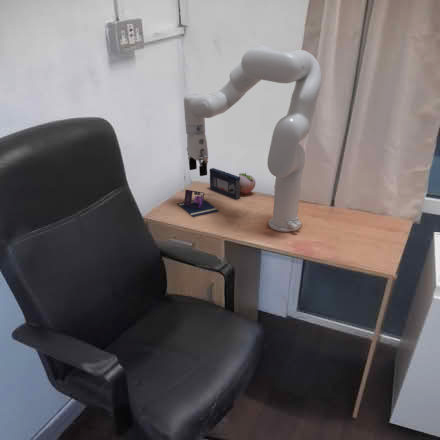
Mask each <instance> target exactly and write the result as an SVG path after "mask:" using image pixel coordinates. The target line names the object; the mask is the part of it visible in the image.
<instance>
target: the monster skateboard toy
mask: <svg viewBox="0 0 440 440" xmlns="http://www.w3.org/2000/svg"><path fill="white" fill-rule="evenodd" d="M184 192H185V193H184V201H183V202H184V205H185V206H190V207H196V206H191V202H192V200H193V201H194V203H196V204H199V203H200V204H199V207H196V208H201V209H202V208H203V201H204V200H205V192H202V191H197V190H190V189H185V191H184ZM193 194H194V195H195V196H194V199H193ZM202 199H203V200H202ZM201 204H202V207H200V206H201Z"/></svg>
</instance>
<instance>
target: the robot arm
mask: <svg viewBox="0 0 440 440" xmlns="http://www.w3.org/2000/svg"><path fill="white" fill-rule="evenodd" d="M261 81H267V82H272V83H277V84H291V83H294V82H295V85H294V89H293V91H292V94H291V97H290V103H289V106H288V111H287V113H286V115H284V116H283V117H281V118H280V119H279V120H278V121H277V122H276V124H275V126H274V129H273V131H272V135H271V141H270V145H269V151H268V155H267V169H268V171H269V172H270V174H271V175H272V176H274V177H275V179H274V180H275V182H274V194H273V195H274V197H273V211H272V218H270V219H269V220H268V227H269V228H270V229H272V230H274V231H278V232H281V233H287V232H288V233H290V232H295V231H298V230H299V229H300V228H301V227H302V225H303V224H302V223H301V221H300V217H299V205H300V198H301V197H300V196H301V188H302V187H301V185H302V178H303V173H304V167H305V162H306V152H305V149H304V147H303V146H302V145H301V144H300V142H301V141H303V140H304V139H306V138H307V136H308V135H309V134H310V132H311V131H310V130H311V127H312V122H313V118H314V114H315V111H316V107H317V103H318V99H319V94H320V90H321V85H322V69H321V66H320V64H319V61H318V59H316V57H315V56H314V55H313V54H312V53H310V52H309V51H307V50H304V49H296V50H292V51H288V52H284V51H276V50H274V48H272V47H271V46H270V45H265V44H262V45H257V46H252V47H250V48H248V49H247V50H246V51H245V52H244V53H243V55H242V57H241V62H240V63H239V64H238V65H237V66H235V67H234V68H233V69H232V70H231V71H230V73H229V80H228V82H227V83H226V84H225V85H224V86H222V87H221V88H220V89H219V90H218V91H216V92H213V93H210V94H208V95H202V94H201V93H188V94H186V95H185V96H184V97H183V107H184V108H183V110H184V122H185V134H186V145H187V147H186V151H187V156H188V158H187V160H188V167H189V171H194V170H198V169H199V171H198V172H199V176H200V177H204V176H208V162H209V151H208V141H207V136H206V120H205V119H211V118H213V117H216V116H218V115H221V114H224V113H226V112H227V111H228V110H229V109H231V108H232V107H233V106H234V105H235V104H237V103H238V102H239V101H241V99H242V98H243V97H244V96H245V95H246V94H247V93H248V92H249V91H250V90H251V89H252V88H254V87H255V86H256V85H257V84H258V83H259V82H261ZM197 161H198V162H197ZM197 163H198V164H199V165H198V166H197Z"/></svg>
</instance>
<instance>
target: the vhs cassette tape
mask: <svg viewBox="0 0 440 440" xmlns="http://www.w3.org/2000/svg"><path fill="white" fill-rule="evenodd" d="M209 189H210V191H213V192H215V193H218V194H220V195H223V196H225V197H228V198H231V199H233V200H238V199H239V200H240V198H241V192H240V177H239V175H235V174H233V173H230V172H226V171H223V170H220V169H218V168H215V167H211V168H209Z"/></svg>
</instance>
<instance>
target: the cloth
mask: <svg viewBox="0 0 440 440" xmlns="http://www.w3.org/2000/svg"><path fill="white" fill-rule="evenodd" d="M193 200H194V199H192V202H191V206H196V207H199V204H200V203H199V204H196V203H194V201H193ZM202 200H203V198H202ZM177 205H178V206H179V207H180V208H182V209H183V210H184V211H185V212H187V213H188V214H189V216H191V217H193V218H195V217H199V216H203V215H207V214H212V213H213V214H214V213H218V212H219V209H218V208H217V207H215V206H213V204H211V203H209V202H208V201H207V200H205V199H204V201H203V208H202V209H201V208H196V207H190V206H185V205H184V201H182V202H177ZM200 207H202V204H201V206H200Z"/></svg>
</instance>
